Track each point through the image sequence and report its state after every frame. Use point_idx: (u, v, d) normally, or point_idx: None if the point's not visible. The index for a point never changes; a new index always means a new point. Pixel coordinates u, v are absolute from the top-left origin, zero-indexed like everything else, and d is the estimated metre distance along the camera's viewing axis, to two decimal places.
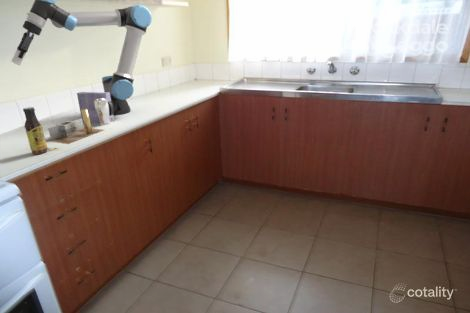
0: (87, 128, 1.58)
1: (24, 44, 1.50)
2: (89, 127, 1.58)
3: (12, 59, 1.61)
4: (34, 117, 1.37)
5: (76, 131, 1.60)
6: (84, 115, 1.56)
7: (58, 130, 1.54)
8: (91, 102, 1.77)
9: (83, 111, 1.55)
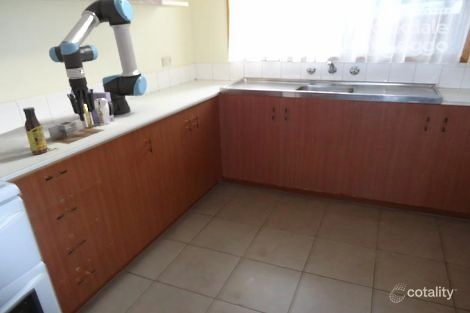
0: None
1: None
2: (89, 122, 1.58)
3: (87, 124, 1.57)
4: (34, 117, 1.37)
5: (76, 131, 1.60)
6: (83, 109, 1.55)
7: (58, 130, 1.54)
8: None
9: None
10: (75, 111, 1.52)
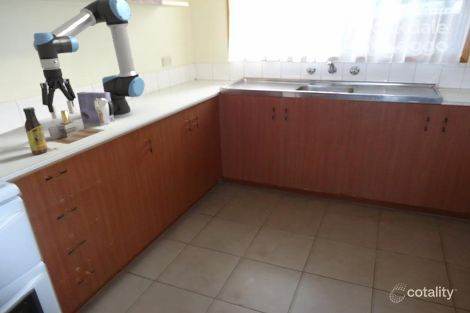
0: None
1: None
2: None
3: None
4: (34, 117, 1.37)
5: (76, 131, 1.60)
6: (63, 116, 1.56)
7: (58, 130, 1.54)
8: (91, 102, 1.77)
9: (62, 112, 1.55)
10: (44, 102, 1.47)
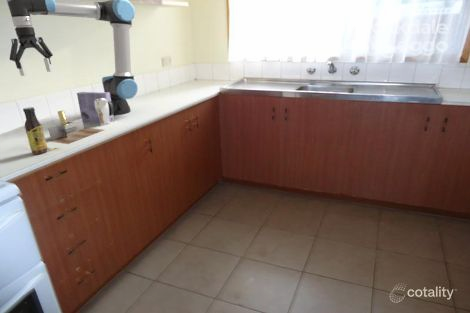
0: None
1: None
2: None
3: None
4: (34, 117, 1.37)
5: (76, 131, 1.60)
6: (61, 116, 1.55)
7: (58, 130, 1.54)
8: (91, 102, 1.77)
9: (59, 112, 1.54)
10: (11, 56, 1.47)
